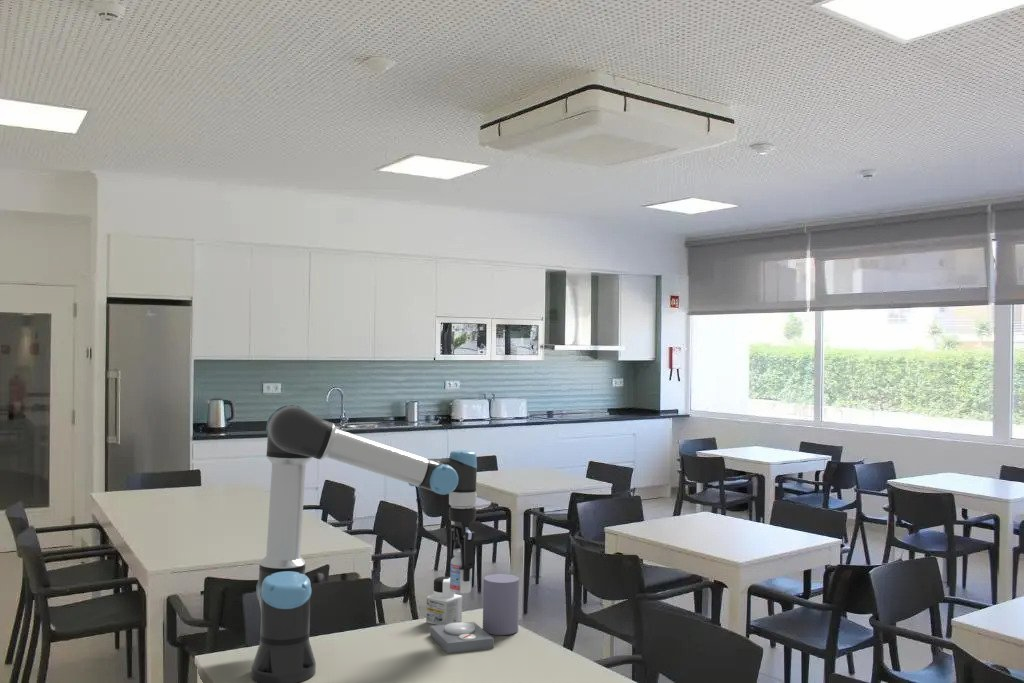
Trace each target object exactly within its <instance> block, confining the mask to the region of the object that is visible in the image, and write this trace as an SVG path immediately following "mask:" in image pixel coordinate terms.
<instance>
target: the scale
mask: <svg viewBox="0 0 1024 683" xmlns="http://www.w3.org/2000/svg"><path fill="white" fill-rule="evenodd" d="M429 630H430V633H429V635H430V637H431V638H432V639H433V640H434V641H435V642H436V643H437V644H438V645H439V646H440V647H441V648H442V650H444V651H445V652H446V653H447V654H452V653H461V652H471V651H479V650H489V649H494V637H492V635H491V634H488V633H487V632H485V631H484V630H483V627H481V626H480V625H478V624H477V623H476V622H475V621H469V622H463V621H461V622H457V623H450V624H446V625H430V628H429Z"/></svg>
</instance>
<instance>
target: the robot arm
mask: <svg viewBox="0 0 1024 683" xmlns="http://www.w3.org/2000/svg"><path fill="white" fill-rule="evenodd" d="M265 432H266V435H267V440H266V456H265V457H266V458H267V459H268V460H269V461H270V463H271V472H270V474H271V475H270V476H271V477H270V487H269V488H270V489H269V490H270V491H269V492H270V493H269V505H268V506H269V507H268V522H267V537H266V555H265V557H263V558H262V559H261V560H260V561H259V568H258V579H257V583H256V586H255V588H256V590H255V594H256V598H257V601H258V602H259V603H258V604H259V607H260V628H259V629H260V631H259V632H260V634H259V635H260V637H259V646H258V648H257V650H256V654H255V656H254V660H253V662H252V665H251V676H250V677H251V678H252V680H253V681H255V682H258V683H300V682H303V681H306V680H308V679H310V678H312V677H313V676H315V674H316V669H317V668H316V667H317V664H316V663H317V662H316V659H315V656H314V652H313V648H312V645H311V642H310V628H311V627H310V625H311V624H310V621H311V620H310V619H311V596H312V587H311V580H310V578H309V577H308V576H307V574H306V561H305V559H304V558H303V557H302V556H301V547H302V545H301V544H302V533H303V532H302V531H303V518H304V517H303V515H304V514H303V512H304V501H305V498H304V497H305V485H306V484H305V481H306V467H307V466H306V465H307V463H308V462H309V461H311V460H312V459H313V458H314V459H317V460H323V459H325V458H327V459H331V460H334V461H337V462H340V463H344V464H347V465H349V466H353V467H356V468H359V469H363V470H365V471H369V472H372V473H375V474H378V475H382V476H385V477H387V478H391V479H394V480H398V481H401V482H403V483H407V484H408V485H409V486H410V487H417V488H422V489H426V490H428V491H431V492H434V493H435V494H437V495H438V494H439V495H444V496H445V495H448V505H450V506H449V507H448V520H449V521H451V522H452V523H453V522H454V523H453V524H450V545H449V548H450V549H449V559H450V560H451V559H452V558H454V554H453V551H454V549H458V548H460V551H461V564H462V567H460V568H459V569H460V593H459V594H469V593H471V590H470V570H471V568H472V569H474V567H475V566H474V564H475V560H474V555H475V552H474V549H475V548H474V544H475V543H474V542H475V531H472V528H471V523H472V522H475V521H476V519H477V508H476V507H475V506H476V505H477V498H478V493H477V475H478V474H477V470H478V461H477V453H476V452H474V451H473V450H468V449H466V450H461V449H460V450H459V449H458V450H451V452H450V453H449V457H447V458H427V457H424V456H420V455H419V454H418V455H417V454H415V453H411V452H408V451H405V450H403V449H401V448H400V449H399V448H396V447H393V446H391V445H388V444H384V443H381V442H379V441H376V440H373V439H369V438H367V437H364V436H361V435H357V434H354V433H352V432H348V431H345V430H342V429H338V428H337V427H336V426H335V423H334V422H330V421H328V420H326V419H322V418H321V417H319V416H317V415H315V414H314V413H311V412H310V411H309V410H308V409H307V410H306V409H305V408H304V407H302V406H299V405H295V404H287V405H283V406H280V407H279V408H277V409H275V410H274V411H273V412H272V413H271V414H270V416H269V417H268V419H267V422H266V431H265Z"/></svg>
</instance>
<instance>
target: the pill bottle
mask: <svg viewBox="0 0 1024 683" xmlns="http://www.w3.org/2000/svg"><path fill="white" fill-rule="evenodd" d="M453 554H454V558H452V559H450V567H449V568H450V569H449V577H450V590H451V591H452V592H456V593H459V594H461V593H460V569H459V568H460V567H462V564H461V551H460V548H458V549H454V551H453ZM472 579H473V568H471V570H470V591H471V590H472ZM456 593H455V594H456Z"/></svg>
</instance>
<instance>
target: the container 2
mask: <svg viewBox="0 0 1024 683" xmlns="http://www.w3.org/2000/svg"><path fill="white" fill-rule="evenodd" d="M482 594H483V598H482V600H483V601H482V629H483V630H484V631H485V632H487V633H488V634H489V635H490V636H498V637H499V636H501V637H503V636H505V637H506V636H511V635H514V634H516V633H518V631H519V615H520V613H519V610H520V609H519V608H520V604H519V602H520V577H518V576H517V575H515V574H514V575H513V574H509V573H508V574H507V573H506V574H505V573H493V574H488V575H485V576H484V577H483V592H482Z"/></svg>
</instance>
